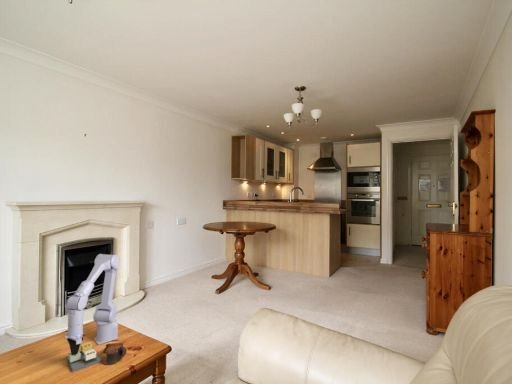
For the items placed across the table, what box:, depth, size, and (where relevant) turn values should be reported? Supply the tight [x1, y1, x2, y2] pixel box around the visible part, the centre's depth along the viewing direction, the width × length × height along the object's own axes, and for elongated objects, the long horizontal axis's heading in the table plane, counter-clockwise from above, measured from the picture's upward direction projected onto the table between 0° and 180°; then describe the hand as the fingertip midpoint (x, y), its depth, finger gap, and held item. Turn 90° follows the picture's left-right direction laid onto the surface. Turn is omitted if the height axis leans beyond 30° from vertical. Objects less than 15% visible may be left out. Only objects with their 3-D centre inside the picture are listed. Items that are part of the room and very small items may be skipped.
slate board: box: [65, 347, 102, 373], centre depth 126 cm, size 11×13×1 cm
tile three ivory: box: [84, 348, 97, 361], centre depth 124 cm, size 4×4×2 cm
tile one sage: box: [67, 350, 81, 363], centre depth 124 cm, size 4×4×2 cm
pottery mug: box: [102, 342, 128, 365], centre depth 128 cm, size 12×10×8 cm
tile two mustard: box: [80, 341, 94, 353], centre depth 130 cm, size 4×4×2 cm
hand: (74, 354), depth 124 cm, fingers closed, pressing on tile one sage
